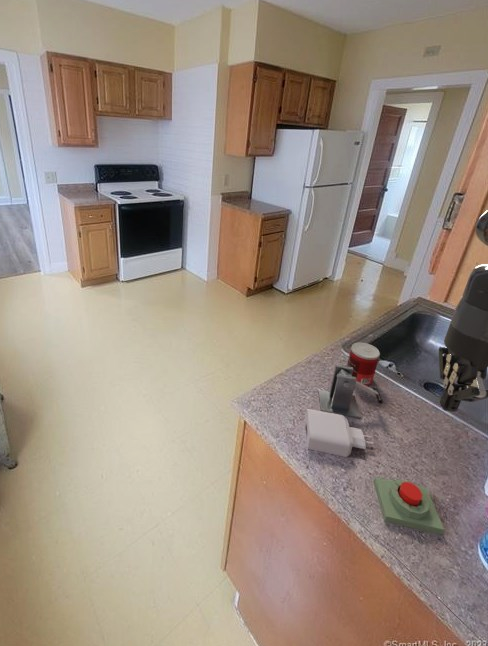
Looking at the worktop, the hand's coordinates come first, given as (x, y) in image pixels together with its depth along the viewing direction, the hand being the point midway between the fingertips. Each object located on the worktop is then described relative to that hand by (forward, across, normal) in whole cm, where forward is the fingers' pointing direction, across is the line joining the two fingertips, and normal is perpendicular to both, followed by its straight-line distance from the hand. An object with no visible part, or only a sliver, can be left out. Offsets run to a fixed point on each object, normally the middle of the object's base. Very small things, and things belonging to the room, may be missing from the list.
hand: (447, 407), depth 59 cm
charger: (+23, +9, +14) cm, 28 cm away
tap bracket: (+23, +21, +12) cm, 33 cm away
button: (+20, -4, +3) cm, 20 cm away
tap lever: (+16, +21, +8) cm, 28 cm away
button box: (+23, -4, +3) cm, 23 cm away
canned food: (+23, +34, +4) cm, 41 cm away
